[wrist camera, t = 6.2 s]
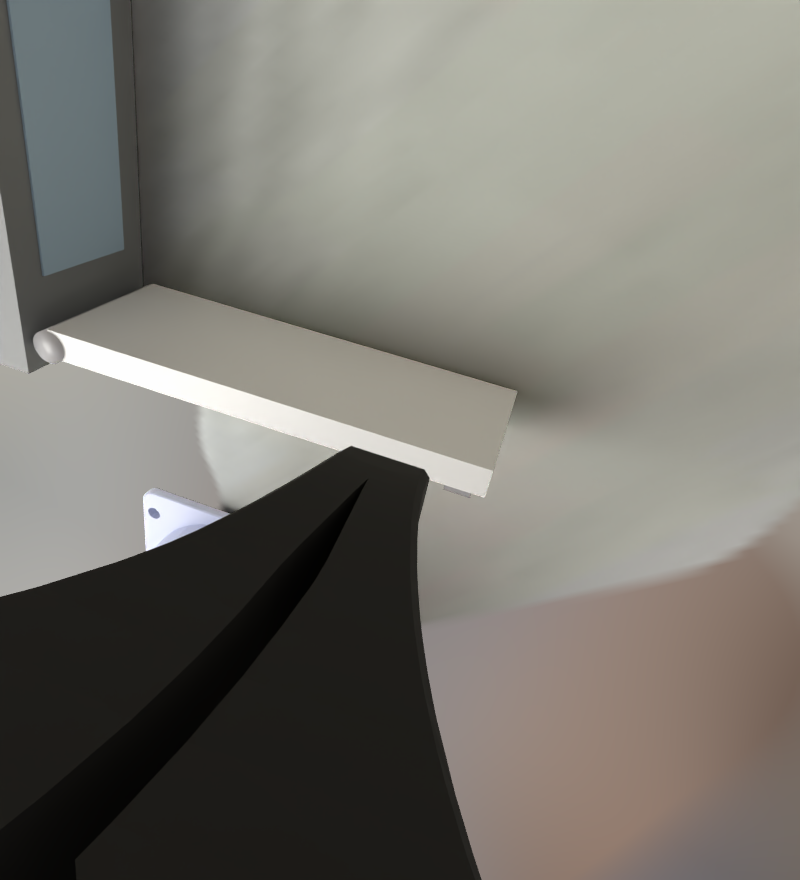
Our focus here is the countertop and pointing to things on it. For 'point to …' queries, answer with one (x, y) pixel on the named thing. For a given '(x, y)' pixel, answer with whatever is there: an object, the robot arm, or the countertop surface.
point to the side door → (292, 381)
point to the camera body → (65, 166)
